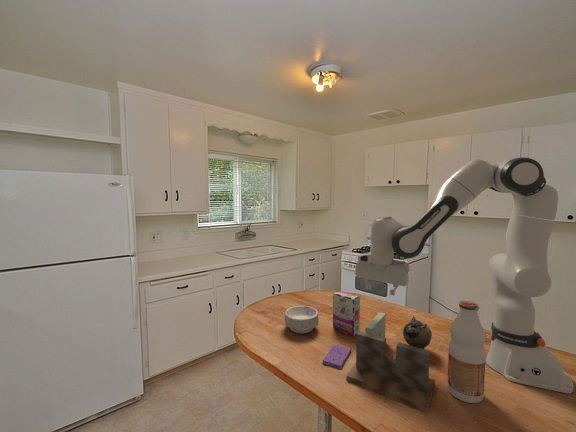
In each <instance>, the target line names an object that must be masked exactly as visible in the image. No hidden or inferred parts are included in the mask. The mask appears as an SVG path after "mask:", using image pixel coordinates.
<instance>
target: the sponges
mask: <svg viewBox="0 0 576 432" xmlns="http://www.w3.org/2000/svg"><path fill="white" fill-rule="evenodd" d="M351 351H352V348H350V347H345V346H342V345H338V344H333V345H332V346H331V348H330V350H329V351H328V352H327V354H326V355H325V356H324V357H323V358H322V364H323V365H327V366H329V367H332V368H333V367H334V368H337V369H339V370H341V369H342V368H343V366H344V364H345V362H346V361H347V359H348V358H349V356H350V354H351Z"/></svg>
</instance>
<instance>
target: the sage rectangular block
mask: <svg viewBox="0 0 576 432" xmlns="http://www.w3.org/2000/svg"><path fill="white" fill-rule="evenodd" d="M386 317H387V314H386V313H385V312H380V311H379V312H378V313H377V315H375V317H374V318H373V319H371V320H370V322H368V324H367V325H366V326H365V331H364V332H365V333H369V334H372V335H376V336H379V337H383V338H386V321H387V319H386Z"/></svg>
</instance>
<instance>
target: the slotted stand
mask: <svg viewBox="0 0 576 432" xmlns="http://www.w3.org/2000/svg"><path fill="white" fill-rule="evenodd" d="M355 336H356V341H355V342H356V343H355V345H356V348H355V349H356V350H355V351H356V352H355V359H356V360H355V363H354V365H353V366H352V368H350V370H349V371H348V372H347V374H345V375H346V377H345V378H346V381H349V382H351V383H354V384H355V385H358V386H361V387H363V388H366V389H368V390H370V391H374V392H376V393H378V394H380V395H383V396H386V397H387V398H391V399H393V400H396V401H397V402H400V403H403V404H405V405H407V406H411V407H412V408H416V409H418V410H420V411H422V412H425V413H427V412H428V410H429V406H430V404H431V399H432V396H433V393H434V389H435V386H436V379H434V378H430V350H427V349H425V348H424V349H425V350H424V349H421V348H417V347H414V346H410V345H409V344H408V343H407V344H406V343H402V342H397V344H396V347H395V348H396V349H395V358H393V357H390V356H386V346H387V344H386V343H387V339H386V337H385V338H383V337H379V336H376V335H372V334H369V333H365V331H362V330H359V332H358V333H357V334H356V335H355Z"/></svg>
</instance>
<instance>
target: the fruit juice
mask: <svg viewBox="0 0 576 432" xmlns="http://www.w3.org/2000/svg"><path fill="white" fill-rule="evenodd" d="M458 308H459V312H458V315H457V316H456V319H455V320H454V321H453V322H451V324H450V327H449V332H450V333H449V334H450V337H451V339H450V341H449V343H448V357H447V358H448V359H447V361H448V362H447V379H446V381H447V382H446V383H447V390H448V391H449V393H450V394H451V395H452V396H453V397H455V398H456V399H457V400H460V401H462V402H464V403H467V404H478V403H481V402H482V401H483V400H484V396H485V378H486V377H485V376H486V375H485V374H486V357H487V355H486V349H485V347H484V346H485V343H486V340H487V333H486V331H485V330H486V329H484V327H483V326H482V324H481V321H480V318H479V314H478V312H479V309H480V308H479V304H478V303H476V302H475V301H474V302H473V301H470V300H469V301H468V300H461V301H459V303H458Z"/></svg>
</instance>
